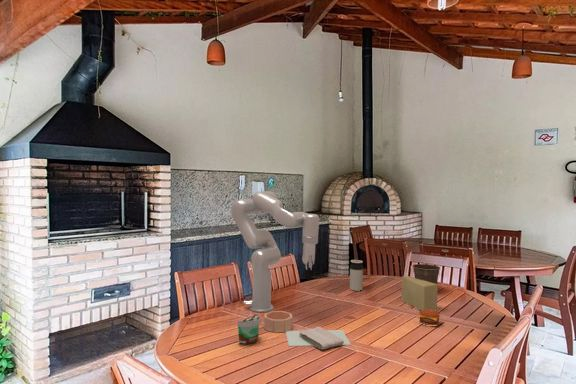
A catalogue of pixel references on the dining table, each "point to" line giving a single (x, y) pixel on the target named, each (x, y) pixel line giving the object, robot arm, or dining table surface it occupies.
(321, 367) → the dining table surface
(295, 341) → the mat
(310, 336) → the washcloth
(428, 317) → the hamburger
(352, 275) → the travel mug
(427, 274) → the plant pot
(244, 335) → the food container
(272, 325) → the bowl
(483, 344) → the dining table surface
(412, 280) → the olive green box
